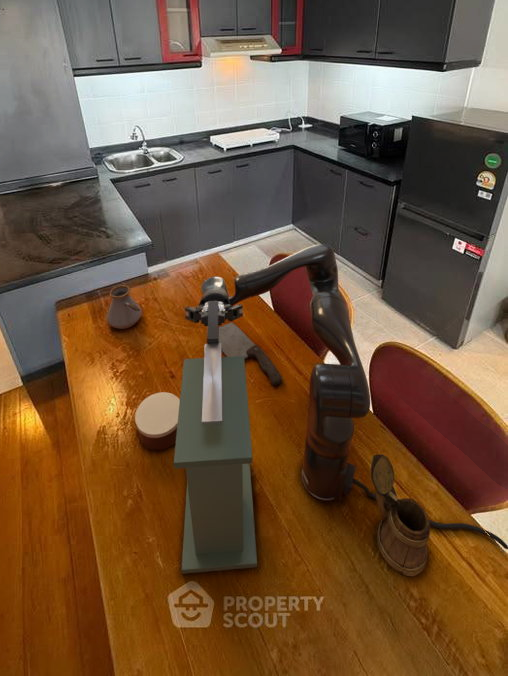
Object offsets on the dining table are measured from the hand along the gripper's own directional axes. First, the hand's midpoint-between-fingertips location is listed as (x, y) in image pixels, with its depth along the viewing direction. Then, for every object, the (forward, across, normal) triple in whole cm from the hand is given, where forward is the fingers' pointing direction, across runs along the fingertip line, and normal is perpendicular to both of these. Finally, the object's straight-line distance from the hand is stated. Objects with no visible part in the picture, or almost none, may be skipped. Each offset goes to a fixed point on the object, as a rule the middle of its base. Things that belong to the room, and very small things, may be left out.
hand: (212, 320), depth 76 cm
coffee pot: (-54, -29, +13) cm, 63 cm away
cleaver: (-42, +8, +20) cm, 48 cm away
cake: (-23, -14, +31) cm, 41 cm away
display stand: (-7, 0, +40) cm, 41 cm away
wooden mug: (-1, +34, +44) cm, 56 cm away
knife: (+5, 0, +6) cm, 7 cm away
